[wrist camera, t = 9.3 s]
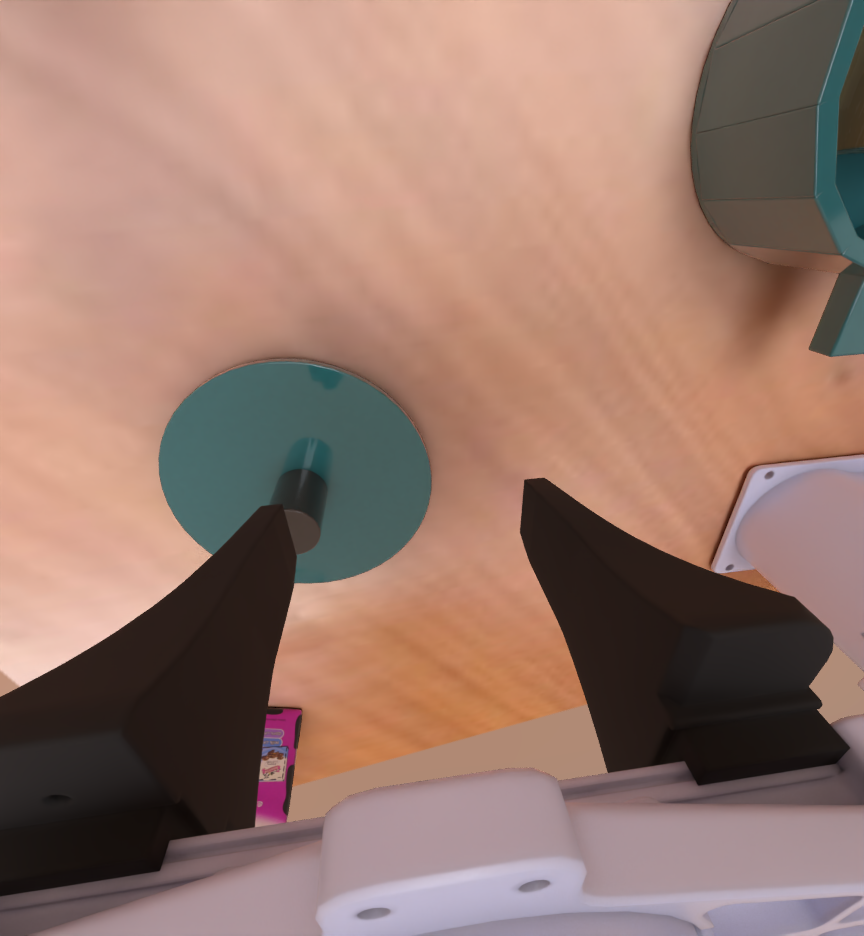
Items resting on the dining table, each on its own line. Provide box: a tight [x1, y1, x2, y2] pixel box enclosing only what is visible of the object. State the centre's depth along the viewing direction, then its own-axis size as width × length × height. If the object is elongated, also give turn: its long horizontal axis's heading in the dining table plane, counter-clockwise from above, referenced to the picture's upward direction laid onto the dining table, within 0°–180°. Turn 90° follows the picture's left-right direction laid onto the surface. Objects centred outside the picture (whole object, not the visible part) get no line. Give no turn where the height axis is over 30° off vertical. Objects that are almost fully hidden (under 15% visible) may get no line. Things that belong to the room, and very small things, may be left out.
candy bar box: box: [255, 708, 302, 827], centre depth 24 cm, size 11×5×16 cm, turn 74°
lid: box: [159, 358, 432, 583], centre depth 19 cm, size 12×12×4 cm
